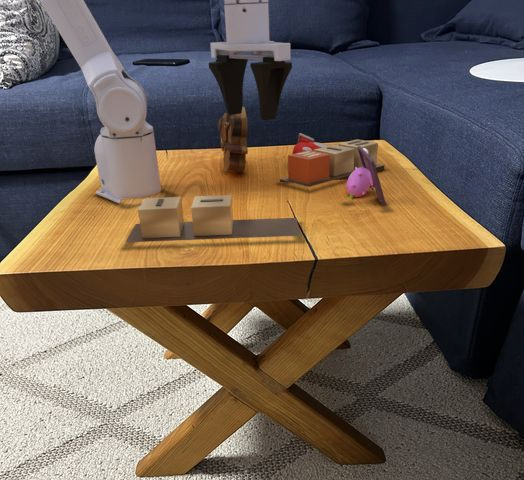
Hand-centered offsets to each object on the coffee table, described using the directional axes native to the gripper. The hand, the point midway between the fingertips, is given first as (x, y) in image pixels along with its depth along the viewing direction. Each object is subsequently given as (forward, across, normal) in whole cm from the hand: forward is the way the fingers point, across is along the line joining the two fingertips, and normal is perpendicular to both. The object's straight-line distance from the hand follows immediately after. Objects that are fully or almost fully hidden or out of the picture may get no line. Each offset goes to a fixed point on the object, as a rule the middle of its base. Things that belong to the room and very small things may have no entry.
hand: (251, 116), depth 79 cm
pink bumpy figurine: (+10, -17, -5) cm, 20 cm away
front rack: (+10, -13, +17) cm, 24 cm away
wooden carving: (+10, +10, -4) cm, 15 cm away
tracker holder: (+10, +4, -17) cm, 20 cm away
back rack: (+10, -5, -12) cm, 16 cm away
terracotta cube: (+9, -5, -6) cm, 12 cm away
